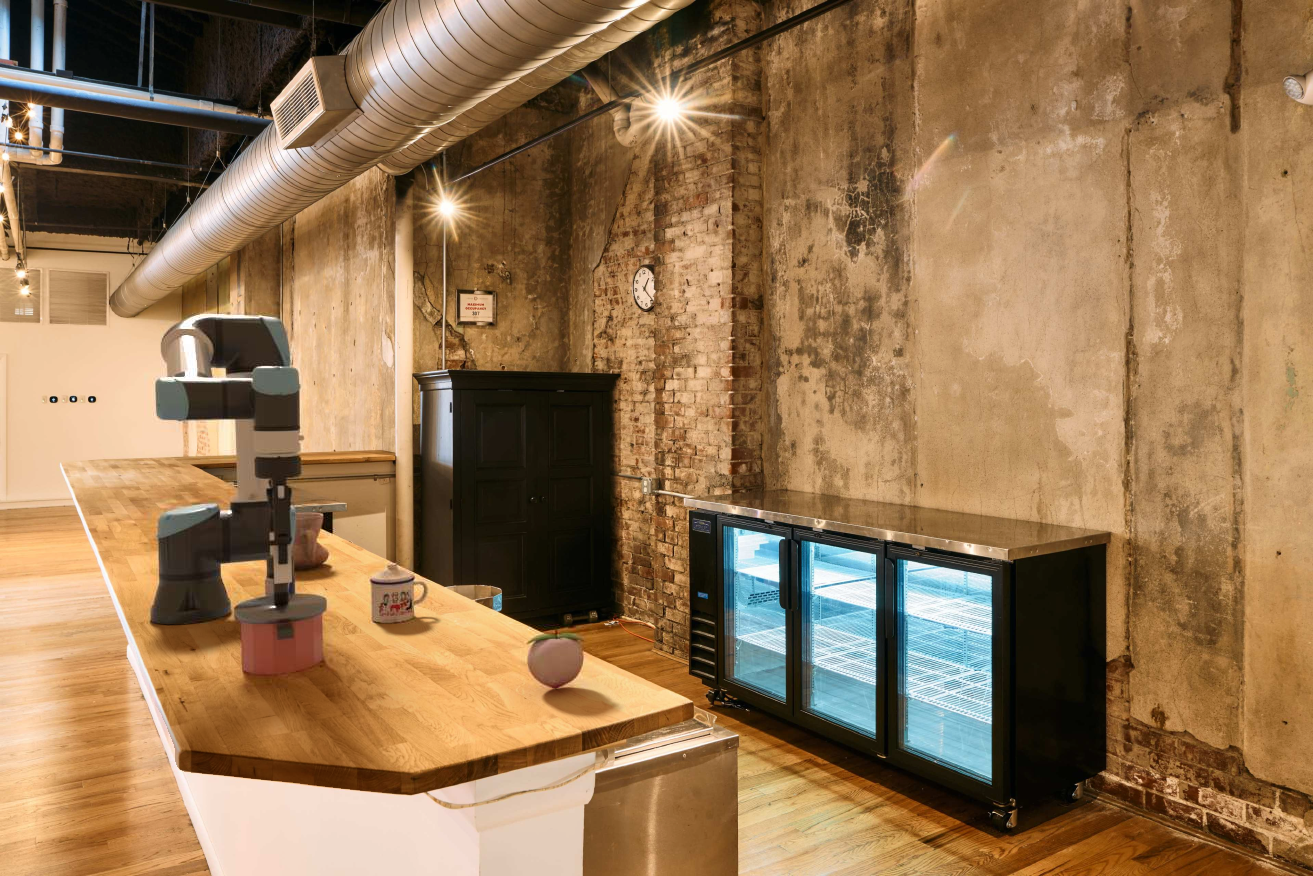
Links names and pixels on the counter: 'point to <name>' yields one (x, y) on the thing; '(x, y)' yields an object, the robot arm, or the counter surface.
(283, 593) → the lid
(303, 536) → the ceramic jug
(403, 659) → the counter surface
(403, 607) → the teacup with lid
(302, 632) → the pot
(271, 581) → the energy drink
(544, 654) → the decorative fruit
